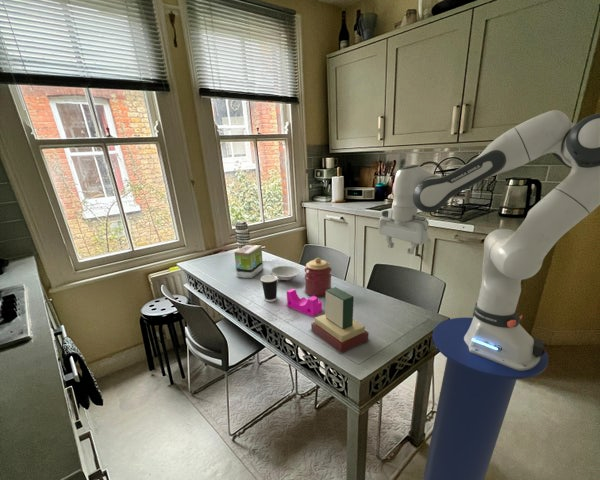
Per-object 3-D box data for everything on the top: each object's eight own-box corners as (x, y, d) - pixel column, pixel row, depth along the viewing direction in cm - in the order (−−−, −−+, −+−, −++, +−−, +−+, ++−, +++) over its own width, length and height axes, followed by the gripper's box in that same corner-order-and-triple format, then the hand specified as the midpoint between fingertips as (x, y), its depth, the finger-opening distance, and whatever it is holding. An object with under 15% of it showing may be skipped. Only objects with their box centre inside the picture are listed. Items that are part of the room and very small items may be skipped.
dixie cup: (282, 299, 150) (280, 278, 145) (267, 304, 146) (265, 283, 141) (273, 294, 156) (272, 273, 151) (259, 298, 151) (257, 277, 147)
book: (352, 325, 115) (353, 296, 110) (343, 329, 113) (343, 300, 108) (334, 314, 123) (335, 286, 118) (325, 318, 121) (325, 289, 116)
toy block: (321, 310, 139) (321, 295, 135) (312, 316, 134) (312, 300, 131) (296, 301, 148) (296, 286, 145) (287, 306, 144) (286, 291, 141)
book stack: (368, 340, 117) (369, 326, 114) (341, 353, 111) (341, 338, 108) (336, 320, 131) (336, 307, 128) (311, 330, 124) (310, 317, 122)
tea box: (252, 278, 174) (250, 253, 168) (236, 277, 177) (233, 252, 171) (263, 268, 187) (261, 244, 181) (248, 267, 190) (245, 243, 184)
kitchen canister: (335, 294, 152) (335, 260, 145) (309, 299, 149) (308, 264, 142) (325, 284, 164) (325, 252, 156) (302, 288, 161) (300, 255, 153)
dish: (265, 278, 174) (264, 270, 171) (285, 271, 182) (285, 263, 180) (285, 288, 161) (284, 279, 159) (306, 280, 170) (306, 271, 167)
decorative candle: (252, 262, 198) (247, 222, 188) (237, 263, 198) (232, 223, 188) (253, 257, 207) (249, 219, 196) (239, 258, 206) (234, 220, 196)
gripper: (434, 216, 107) (429, 255, 113) (388, 208, 123) (385, 242, 129) (423, 219, 104) (417, 259, 110) (377, 210, 120) (374, 245, 125)
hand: (400, 250), depth 119 cm, fingers open, 8 cm apart
